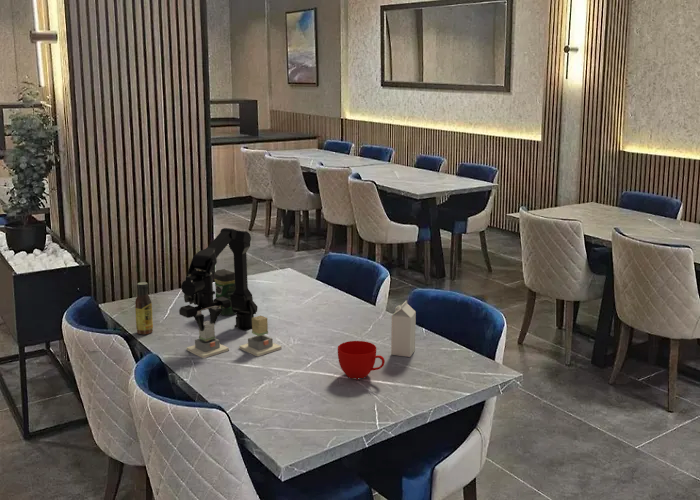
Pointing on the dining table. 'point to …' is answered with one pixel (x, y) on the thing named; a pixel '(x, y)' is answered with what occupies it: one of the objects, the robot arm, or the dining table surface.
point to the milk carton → (403, 331)
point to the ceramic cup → (358, 358)
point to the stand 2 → (260, 345)
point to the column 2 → (259, 325)
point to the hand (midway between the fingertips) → (206, 329)
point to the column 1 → (207, 331)
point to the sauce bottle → (143, 310)
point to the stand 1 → (207, 348)
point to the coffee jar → (224, 287)
